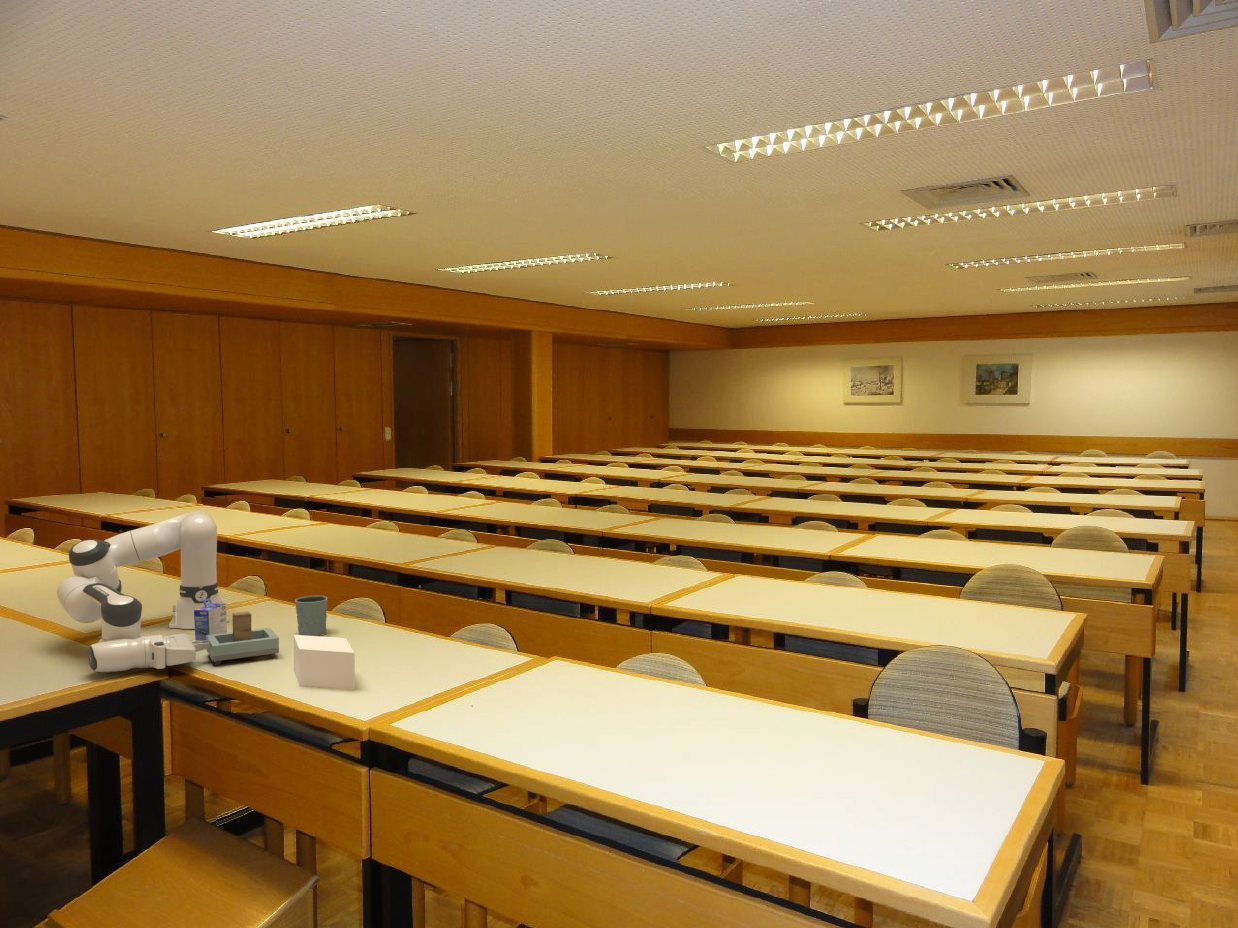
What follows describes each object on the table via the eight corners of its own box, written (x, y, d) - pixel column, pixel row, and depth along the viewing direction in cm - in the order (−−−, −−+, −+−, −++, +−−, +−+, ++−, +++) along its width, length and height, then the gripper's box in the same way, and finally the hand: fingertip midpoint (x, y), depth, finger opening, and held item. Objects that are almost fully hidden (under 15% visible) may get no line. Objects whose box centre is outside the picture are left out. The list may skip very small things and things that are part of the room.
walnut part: (232, 645, 253) (232, 613, 252) (248, 643, 255) (248, 611, 255) (235, 649, 249) (234, 616, 249) (251, 647, 252) (251, 614, 251)
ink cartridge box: (212, 639, 271) (211, 595, 270) (228, 640, 270) (227, 596, 270) (193, 648, 261) (193, 602, 260) (210, 648, 261) (209, 602, 260)
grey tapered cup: (334, 632, 282) (334, 597, 281) (310, 639, 273) (310, 603, 272) (312, 628, 287) (312, 594, 286) (288, 635, 278) (288, 599, 277)
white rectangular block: (330, 697, 218) (330, 658, 217) (270, 675, 235) (270, 639, 235) (377, 684, 229) (377, 647, 229) (316, 664, 247) (316, 629, 246)
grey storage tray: (206, 655, 253) (206, 635, 253) (269, 646, 263) (269, 627, 263) (212, 667, 242) (212, 646, 241) (278, 658, 251) (278, 637, 251)
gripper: (153, 652, 248) (204, 646, 255) (159, 670, 231) (214, 663, 238) (152, 631, 247) (204, 626, 255) (158, 648, 230) (214, 641, 238)
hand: (209, 644), depth 246 cm, fingers closed
